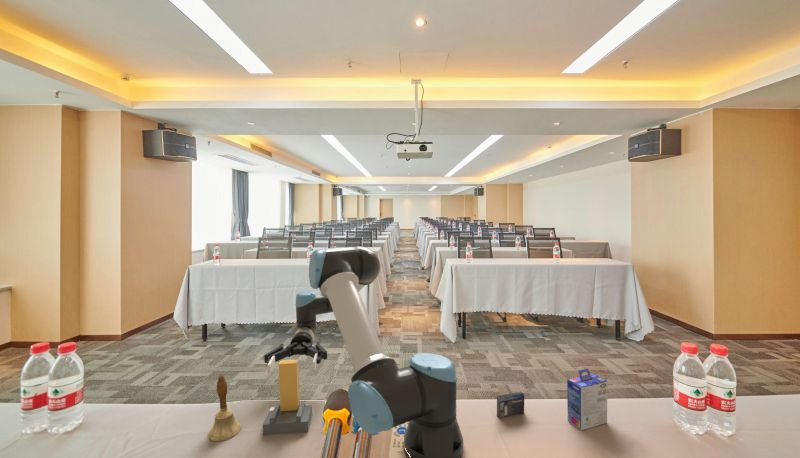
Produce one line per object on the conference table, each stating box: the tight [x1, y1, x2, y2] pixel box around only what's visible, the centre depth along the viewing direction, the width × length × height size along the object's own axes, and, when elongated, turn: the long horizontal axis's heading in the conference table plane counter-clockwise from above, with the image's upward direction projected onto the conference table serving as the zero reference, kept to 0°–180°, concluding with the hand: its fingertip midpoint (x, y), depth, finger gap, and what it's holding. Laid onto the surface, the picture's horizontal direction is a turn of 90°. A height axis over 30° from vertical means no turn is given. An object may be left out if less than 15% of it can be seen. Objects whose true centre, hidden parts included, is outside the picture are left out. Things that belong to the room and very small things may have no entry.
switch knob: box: [278, 359, 301, 411], centre depth 104 cm, size 5×2×14 cm, turn 96°
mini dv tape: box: [496, 391, 525, 419], centre depth 105 cm, size 8×2×6 cm, turn 106°
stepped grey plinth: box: [262, 400, 313, 436], centre depth 102 cm, size 12×8×4 cm, turn 96°
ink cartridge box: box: [566, 368, 608, 431], centre depth 101 cm, size 10×6×14 cm, turn 110°
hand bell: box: [207, 375, 242, 442], centre depth 99 cm, size 8×8×16 cm
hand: (291, 367), depth 111 cm, fingers open, 13 cm apart
